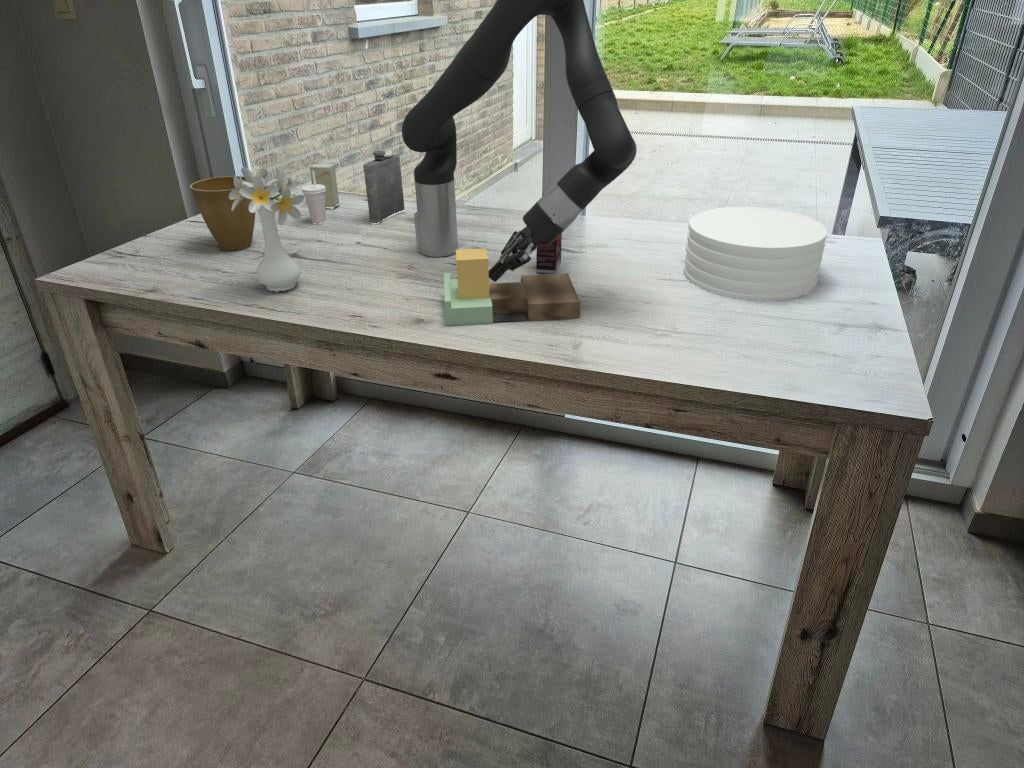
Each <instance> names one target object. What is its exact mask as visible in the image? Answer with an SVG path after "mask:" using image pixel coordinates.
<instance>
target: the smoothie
mask: <svg viewBox="0 0 1024 768" xmlns="http://www.w3.org/2000/svg"><path fill="white" fill-rule="evenodd" d="M312 174H313V181H314V185H312V184H308V185H304V186H302V187H301V193H302V194H303V195H304V200H305V203H306V206H307V210H308V213H309V216H310V219H311V223H312V222H313V223H320V222H324V221H326V222H327V213H326V210H327V209H326V206H325V191H326V187H325V186H324V185H320V184H316V180H315V174H314V171H312ZM313 223H312V224H313Z"/></svg>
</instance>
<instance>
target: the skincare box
mask: <svg viewBox="0 0 1024 768" xmlns="http://www.w3.org/2000/svg"><path fill="white" fill-rule="evenodd" d="M312 171H314V174H315V180H316V184H320V185H324V186H325V187H326V191H325V206H326V207H335V206H336V205H337V204H338V203H339V204H340V198H339V191H338V182H337V181H338V179H337V174H336V172H337V171H336V165H335V163H333V164H331V163H313V164H312V165H310V166H309V172H310V173H309V174H310V182H311V185H314V181H313V174H312Z"/></svg>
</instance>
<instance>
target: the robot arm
mask: <svg viewBox="0 0 1024 768" xmlns="http://www.w3.org/2000/svg"><path fill="white" fill-rule="evenodd" d="M538 16H550V17H551V19H552V20H553V22H554V23H555V25H556V27H557V30H558V31H559V33H560V35H561V38H562V42H563V47H564V54H565V56H564V57H565V61H564V62H565V77H566V82H567V85H568V89H569V92H570V94H571V96H572V98H573V100H574V103H575V105H576V108H577V110H578V112H579V113H578V114H579V115H580V117H581V118H582V121H583V122H584V124H585V127H586V131H587V134H588V137H589V140H590V143H591V145H592V148H593V151H592V152H590V154H589V155H588V156H587V157H586V158H585V159H584V160H582V162H580V163H577V164H575V165H573V166H572V167H571V168H570V169H569V170H568V171H567V172H566V173H565V174H564V175H563V176H562V177H561V178H560V179H559V180H558V181H557V182H556V183H555V184H554V185H553V186H552V187H551V188H550V189H548V190H547V191H546V192H545V194H544V193H543V194H544V195H543V194H542V196H541V197H540V198H539V199H538V200H537V201H536V202H535V203H534V204H533V205H532V206H531V208H529V210H528V211H527V212H526V213H525V214H524V215H523V216H522V221H523V223H524V224H525V227H523V228H522V229H521V230H518V231H517V230H515V231H514V232H513V233H512V234H511V235H510V237H509V239H508V241H507V243H506V244H505V245H504V247H503V249H502V250H501V251H500V254H501V255H500V256H499V258H498V260H497V261H496V262H495V263H494V264H493V266H492V267H491V268H490V269H488V272H489V280H491V281H492V282H494V283H496V282H497V281H498V280H499V279H501V277H502V276H503V275H505V273H506V272H507V271H508V270H509V271H511V272H514V271H515V270H517V269H519V268H521V267H522V266H525V265H526V264H528V263H529V262H531V260H532V257H531V256H530V255H532V254H533V253H534V252H535V251H537V246H538V244H539V243H540V242H544V243H545V244H547V245H550V244H551V243H552V242H553V241H554V240H555V239H556V238H557V237H558V236H559V235H560V234H561V233H564V232H565V230H567V229H568V227H570V225H571V224H572V223H574V221H575V220H576V219H577V218H578V216H579V215H580V214H581V212H582V211H583V210H584V209H586V207H587V206H588V205H589V204H590V203H591V202H593V200H595V198H596V197H597V196H598V194H600V192H601V191H602V190H603V189H605V188H606V187H607V186H609V185H610V184H611V183H612V182H614V181H615V180H616V179H617V178H618V177H620V176H621V174H622V173H624V172H625V171H626V170H627V169H629V167H630V166H631V165H632V163H633V161H634V160H635V158H636V156H637V150H638V149H637V144H636V142H635V139H634V138H633V136H632V134H631V132H630V130H629V127H628V125H627V124H626V121H625V119H624V116H623V115H622V113H621V111H620V109H619V107H618V106H619V105H618V104H619V103H618V100H617V97H616V95H615V92H614V90H613V87H612V85H611V83H610V81H609V78H608V75H607V73H606V70H605V68H604V66H603V63H602V61H601V59H600V56H599V53H598V50H597V46H596V43H595V40H594V37H593V36H594V35H593V33H592V28H591V25H590V21H589V18H588V17H589V16H588V14H587V10H586V5H585V1H584V0H496V1H495V3H494V4H493V6H492V8H491V9H490V11H489V12H488V13H487V15H486V16H485V17H484V19H483V20H482V21H481V22H480V24H479V25H478V27H477V28H476V29H475V31H474V32H473V33H472V34H471V36H470V37H469V38H468V40H467V41H466V42H465V43H464V44H463V46H462V47H461V48H460V50H458V52H457V54H456V55H455V57H453V60H451V62H450V64H449V65H448V66H447V67H446V68H445V70H444V71H443V73H442V74H441V75H440V77H439V78H437V80H436V81H435V83H434V85H433V86H432V87H431V88H430V90H429V91H428V92H427V93H426V94H425V95H424V96H423V97H422V98H421V99H419V100H420V101H418V102H417V103H416V104H415V105H414V106H413V107H412V108H411V109H410V110H409V111H408V113H407V114H406V115H405V117H404V118H403V122H402V126H401V137H402V140H403V142H404V144H405V145H406V147H407V148H408V149H409V150H410V151H412V152H415V153H425V154H424V157H423V158H422V160H421V161H420V162H419V163H418V164H417V165H416V166H415V167H414V170H413V178H414V190H415V201H416V202H415V203H416V210H417V211H416V212H415V213H414V214H413V219H414V231H415V240H416V241H415V242H416V251H417V253H420V252H421V253H420V254H422V255H424V256H426V255H427V257H434V258H436V257H438V258H440V257H448V256H451V255H455V254H456V250H459V241H458V240H459V239H458V237H459V236H458V223H457V222H458V221H457V220H458V219H457V205H456V204H457V203H456V188H455V186H456V185H455V171H456V168H457V167H456V166H457V160H458V157H457V156H458V155H457V154H458V153H457V151H458V150H457V148H458V147H457V126H456V122H455V118H454V116H455V115H457V114H458V113H460V112H461V111H463V110H464V109H466V108H467V107H469V106H470V105H472V104H474V103H475V102H477V101H478V100H479V99H480V98H482V97H483V96H484V95H485V94H487V92H489V91H490V90H491V89H492V87H493V86H494V85H495V84H496V82H497V81H498V80H499V79H501V78H502V75H503V74H504V73H505V71H506V69H507V67H508V65H509V61H510V57H511V51H512V46H513V43H515V39H516V38H517V37H518V36H519V34H520V33H521V32H522V30H524V29H525V28H526V26H527V25H528V24H529V23H530V22H531V21H532V20H533V19H534V18H535V17H538Z"/></svg>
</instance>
